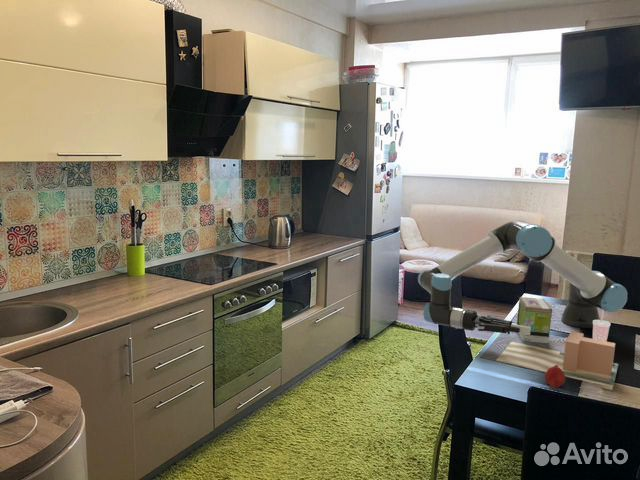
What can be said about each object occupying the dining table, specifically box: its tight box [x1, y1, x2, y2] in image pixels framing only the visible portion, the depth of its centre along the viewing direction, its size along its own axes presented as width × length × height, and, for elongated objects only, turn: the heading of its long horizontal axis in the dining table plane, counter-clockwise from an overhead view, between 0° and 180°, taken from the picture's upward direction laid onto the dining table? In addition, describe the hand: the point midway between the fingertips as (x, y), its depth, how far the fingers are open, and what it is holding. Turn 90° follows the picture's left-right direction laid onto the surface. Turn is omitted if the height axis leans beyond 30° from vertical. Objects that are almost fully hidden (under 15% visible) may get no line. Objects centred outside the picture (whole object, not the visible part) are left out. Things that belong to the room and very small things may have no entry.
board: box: [495, 341, 619, 391], centre depth 185 cm, size 22×36×2 cm, turn 57°
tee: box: [563, 330, 616, 376], centre depth 179 cm, size 12×14×10 cm
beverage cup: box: [592, 309, 611, 342], centre depth 204 cm, size 6×6×14 cm
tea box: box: [516, 296, 553, 344], centre depth 210 cm, size 15×10×15 cm
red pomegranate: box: [544, 365, 566, 390], centre depth 166 cm, size 6×6×8 cm
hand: (530, 331), depth 188 cm, fingers closed
